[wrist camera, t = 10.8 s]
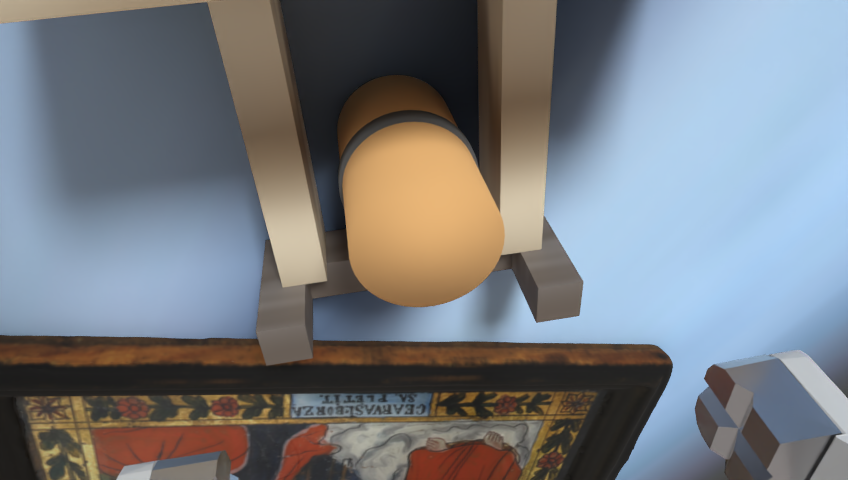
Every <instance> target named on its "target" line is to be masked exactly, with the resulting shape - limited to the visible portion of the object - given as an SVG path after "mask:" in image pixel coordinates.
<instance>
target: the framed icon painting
mask: <svg viewBox="0 0 848 480" xmlns="http://www.w3.org/2000/svg"><path fill="white" fill-rule="evenodd" d="M672 368H673V364H672V361H671V359H670V357H669V356H668V355H667V354H666V353H665V352H664V351H663V350H662V349H660V348H659V347H658V346H655V345H648V344H573V343H509V342H405V341H319V340H313V358H311V359H305V360H299V361H292V362H286V363H280V364H274V365H267V366H266V363H265V359H264V356H263V353H262V350H261V347H260V344H259V341H258V339H232V338H207V339H175V338H151V337H91V336H6V335H0V480H116V479H117V477H118V475H119V474H120V472H121V471H122V469H123V467H124V466H128V465H134V464H140V463H146V462H151V461H157V460H165V459H172V458H178V457H184V456H191V455H197V454H203V453H210V452H216V451H223V450H226V452H227V454H228V456H229V458H230V460H231V471H230V474H232V475H234V476H236V477H238V478H239V480H615V479H616V477H617V475H618V473H619V472H620V470H621V468H622V467H623V465H624V464H625V463H626V462H627V460H628V459H629V456H630V454H631V452H632V450H633V449H634V446H635V444H636V441H637V439H638V437H639V435H640V433H641V432H642V430H643V428H644V426H645V425H646V423H647V421H648V419H649V417H650V415H651V413H652V411H653V410H654V408H655V406H656V404H657V402H658V401H659V399H660V397H661V395H662V393H663V391H664V390H665V388H666V385H667V383H668V381H669V379H670V376H671V372H672Z"/></svg>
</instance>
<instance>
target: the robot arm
mask: <svg viewBox="0 0 848 480" xmlns="http://www.w3.org/2000/svg"><path fill="white" fill-rule="evenodd" d="M704 379H705V381H706V382H707V384H708V385H709V387H708V388H706V389H705V390H704V391H703V392H702V393H701V394H700V395H699V396H698V399H697V403H696V406H695V413H696V420H697V425H698V427H699V430H700V432H701V435H702V437H703V439H704V440H705V442H706V443H707V445H708V447H709V448H710V449H711V450H712V451H714V452H715V453H717V454H718V455H720V456H722V457H723V458H725V459H726V462H725V474H726V476H727V477H728V479H729V480H848V398H847V397H846V396H845V395H844V394H843V393H842V392H841V391H840V390H839V388H838V387H837V386H836V385H835V384H834V383H833V382H832V381H831V380H830V379H829V378H828V376H827V375H826V374H825V373H824V372H823V371H822V370H821V369H820V368H819V367H818V366H817V364H816V363H815V362H814V361H813V360H812V359H811V358H810V357H809V356H808V355H807V354H805V353H803V352H802V351H800V350H791V351H786V352H781V353H776V354H771V355H760V356H755V357H749V358H744V359H739V360H734V361H729V362H723V363H718V364H714V365H712V366H711V367H710V368H708V370H707V372H706V375H705V378H704ZM230 471H231V460H230V458H229V456H228V454H227V452H226V450H223V451H216V452H210V453H203V454H197V455H191V456H184V457H178V458H172V459H165V460H157V461H151V462H146V463H140V464H134V465H128V466H124V467H123V469H122V471H121V472H120V474H119V475H118V477H117V479H116V480H239V478H238V477H236V476H234V475H232V474H230Z"/></svg>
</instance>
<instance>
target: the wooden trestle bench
mask: <svg viewBox="0 0 848 480" xmlns="http://www.w3.org/2000/svg"><path fill="white" fill-rule="evenodd" d="M201 2H207V3H208V7H209V11H210V15H211V18H212V22H213V26H214V30H215V34H216V37H217V41H218V45H219V49H220V52H221V56H222V60H223V64H224V68H225V71H226V75H227V79H228V83H229V86H230V90H231V94H232V98H233V102H234V105H235V109H236V113H237V117H238V120H239V124H240V128H241V132H242V136H243V139H244V143H245V147H246V151H247V154H248V158H249V162H250V166H251V170H252V173H253V177H254V181H255V185H256V188H257V192H258V196H259V200H260V204H261V207H262V211H263V215H264V219H265V222H266V226H267V230H268V234H269V238H270V240H266V242H265V251H264V260H263V270H262V279H261V289H260V298H259V307H258V317H257V326H256V334H257V337H258V341H259V344H260V347H261V350H262V353H263V356H264V359H265V363H266V366H267V365H274V364H280V363H286V362H292V361H299V360H305V359H311V358H313V298H320V297H327V296H333V295H340V294H347V293H353V292H360V291H366V290H367V289H366V288H365V287H364V286H363V285H362V284H361V283H360V282H359V280H358V279H357V277H356V276H355V274H354V272H353V269H352V267H351V264H350V260H349V251H348V241H347V230H346V229H342V230H334V231H327V232H325V227H324V222H323V217H322V212H321V206H320V201H319V196H318V191H317V186H316V181H315V176H314V171H313V166H312V161H311V155H310V150H309V145H308V140H307V135H306V130H305V125H304V120H303V115H302V110H301V105H300V99H299V94H298V89H297V84H296V79H295V74H294V69H293V64H292V59H291V54H290V48H289V43H288V38H287V33H286V28H285V23H284V18H283V13H282V8H281V3H280V0H0V24H1V23H10V22H20V21H29V20H39V19H49V18H58V17H68V16H77V15H87V14H96V13H106V12H115V11H125V10H135V9H144V8H154V7H163V6H173V5H182V4H192V3H201ZM477 8H478V92H479V171H480V173H481V175H482V177H483V179H484V181H485V183H486V185H487V187H488V189H489V191H490V193H491V196H492V198H493V200H494V202H495V204H496V206H497V208H498V210H499V212H500V214H501V217H502V219H503V224H504V230H505V239H504V246H503V250H502V253H501V256H500V258H499V261H498V262H497V264H496V266H495V268H494V269H493V270H492V272H493V271H499V270H506V269H512V270H513V272H514V274H515V276H516V279H517V281H518V283H519V285H520V288H521V290H522V292H523V294H524V296H525V299H526V301H527V303H528V305H529V307H530V310H531V312H532V314H533V316H534V319H535V321H536V323H537V322H544V321H550V320H556V319H562V318H569V317H575V316H579V314H580V305H581V297H582V289H583V280H582V279H581V277H580V275H579V274H578V272H577V270H576V269H575V267H574V265H573V264H572V262H571V260H570V258H569V257H568V255H567V253H566V252H565V250H564V248H563V247H562V245H561V243H560V242H559V240H558V238H557V237H556V235H555V233H554V232H553V230H552V228H551V227H550V225H549V223H548V221H547V220H546V218H545V216H544V201H545V185H546V169H547V153H548V137H549V121H550V105H551V89H552V73H553V57H554V41H555V26H556V10H557V0H477Z"/></svg>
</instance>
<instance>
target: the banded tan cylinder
mask: <svg viewBox="0 0 848 480" xmlns="http://www.w3.org/2000/svg"><path fill="white" fill-rule="evenodd" d="M337 136H338V147H339V157H340V163H339V168H338V182H339V193H340V198H341V202H342V205H343V207H344V209H345V220H346V230H347V241H348V251H349V260H350V264H351V267H352V269H353V272H354V274H355V276H356V277H357V279H358V280H359V282H360V283H361V284H362V285H363V286H364V287H365V288H366V289H367V290H368V291H369V292H371V293H372V294H374V295H375V296H377V297H378V298H380V299H382V300H385V301H387V302H390V303H393V304H396V305H401V306H408V307H428V306H435V305H440V304H444V303H447V302H450V301H453V300H455V299H457V298H460V297H462V296H463V295H465V294H467V293H469V292H470V291H472V290H473V289H475V288H476V287H477V286H478V285H480V284H481V283H482V282H483V281H484V280H485V279H486V278H487V277H488V276H489V275H490V273H491V272H492V270H493V269H494V268H495V266H496V264H497V262H498V261H499V258H500V256H501V253H502V250H503V246H504V239H505V230H504V224H503V219H502V217H501V214H500V212H499V210H498V208H497V206H496V204H495V202H494V200H493V198H492V196H491V193H490V191H489V189H488V187H487V185H486V183H485V181H484V179H483V177H482V175H481V173H480V171H479V166H478V162H477V158H476V156H475V154H474V151H473V149H472V147H471V145H470V143H469V142H468V140H467V138H466V137H465V135H464V134H463V133H462V132H461V130H460V129H459V128H458V127H457V125H456V123H455V121H454V119H453V116H452V114H451V112H450V110H449V108H448V106H447V104H446V103H445V101H444V99H443V98H442V96H441V95H440V94H439V93H438V92H437V91H436V90H435V89H434V88H433V87H432V86H430V85H429V84H427V83H426V82H424V81H422V80H420V79H417V78H414V77H410V76H406V75H388V76H383V77H379V78H376V79H373V80H371V81H369V82H367V83H365V84H364V85H362V86H361V87H359V88H358V89H357V90H356V91H355V92H354V93H353V94H352V95H351V96H350V97H349V98H348V100H347V101H346V102H345V104H344V106H343V108H342V110H341V112H340V115H339V119H338V124H337Z"/></svg>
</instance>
